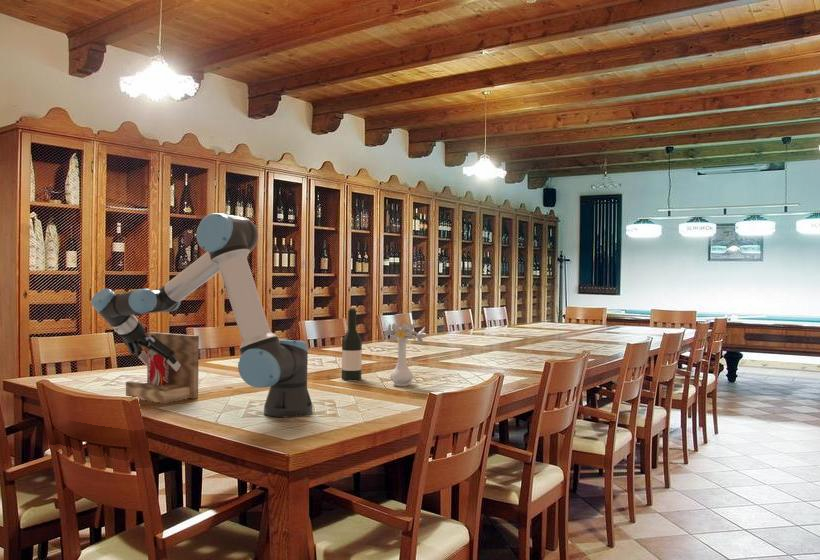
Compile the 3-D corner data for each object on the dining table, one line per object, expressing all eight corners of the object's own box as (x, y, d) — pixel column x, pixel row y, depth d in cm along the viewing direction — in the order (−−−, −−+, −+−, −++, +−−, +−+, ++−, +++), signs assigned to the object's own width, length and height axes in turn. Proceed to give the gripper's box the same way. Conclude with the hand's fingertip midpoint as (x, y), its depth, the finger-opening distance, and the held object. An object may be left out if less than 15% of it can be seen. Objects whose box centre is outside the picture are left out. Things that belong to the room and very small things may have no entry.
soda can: (161, 388, 220) (161, 353, 220) (142, 387, 221) (143, 353, 221) (172, 385, 227) (173, 351, 227) (154, 384, 228) (155, 350, 228)
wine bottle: (365, 378, 271) (366, 308, 271) (353, 381, 264) (354, 309, 264) (349, 377, 275) (350, 307, 275) (337, 379, 268) (338, 308, 268)
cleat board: (198, 398, 224) (198, 335, 224) (169, 404, 213) (169, 338, 213) (151, 391, 236) (152, 332, 235) (122, 397, 225) (122, 334, 225)
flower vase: (430, 385, 257) (431, 323, 257) (392, 389, 246) (393, 324, 246) (411, 380, 267) (412, 321, 267) (374, 384, 257) (375, 322, 257)
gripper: (97, 333, 217) (134, 372, 230) (147, 337, 205) (183, 378, 218) (111, 317, 221) (147, 356, 234) (160, 320, 209) (195, 361, 222)
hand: (165, 366), depth 226 cm, fingers open, 13 cm apart
